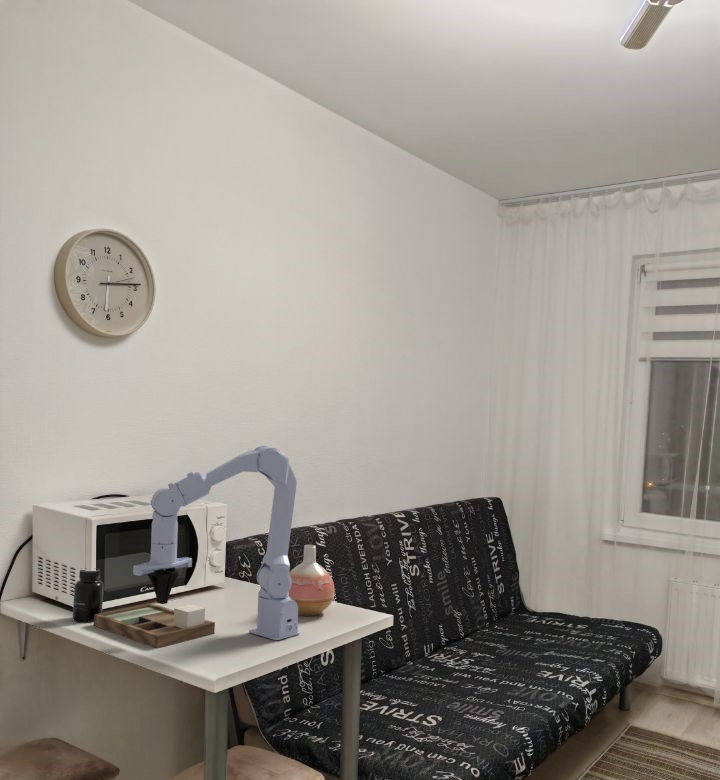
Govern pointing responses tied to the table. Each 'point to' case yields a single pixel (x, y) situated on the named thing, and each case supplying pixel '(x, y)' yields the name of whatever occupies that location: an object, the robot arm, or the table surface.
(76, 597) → the supplement bottle
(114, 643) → the table surface
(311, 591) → the vase
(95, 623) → the tray
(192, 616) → the cream block
